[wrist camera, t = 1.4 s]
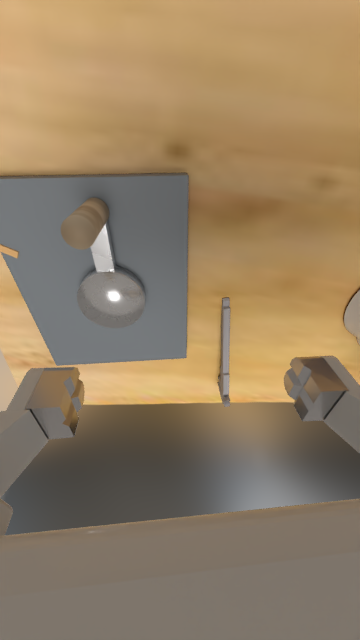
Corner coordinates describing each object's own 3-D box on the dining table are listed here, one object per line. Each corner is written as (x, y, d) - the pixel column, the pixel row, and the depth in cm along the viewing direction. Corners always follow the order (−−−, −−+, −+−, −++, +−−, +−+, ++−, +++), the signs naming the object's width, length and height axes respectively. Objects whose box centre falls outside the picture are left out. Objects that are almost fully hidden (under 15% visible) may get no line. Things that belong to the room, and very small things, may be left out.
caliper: (222, 381, 48) (230, 410, 43) (217, 382, 48) (224, 411, 43) (228, 296, 35) (240, 322, 30) (221, 297, 35) (231, 323, 30)
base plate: (186, 172, 25) (188, 175, 23) (185, 349, 41) (186, 358, 39) (-24, 176, 24) (-38, 179, 22) (59, 356, 40) (55, 366, 38)
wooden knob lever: (148, 317, 33) (145, 353, 28) (89, 320, 33) (75, 357, 27) (133, 196, 24) (126, 215, 18) (52, 198, 23) (19, 218, 18)
